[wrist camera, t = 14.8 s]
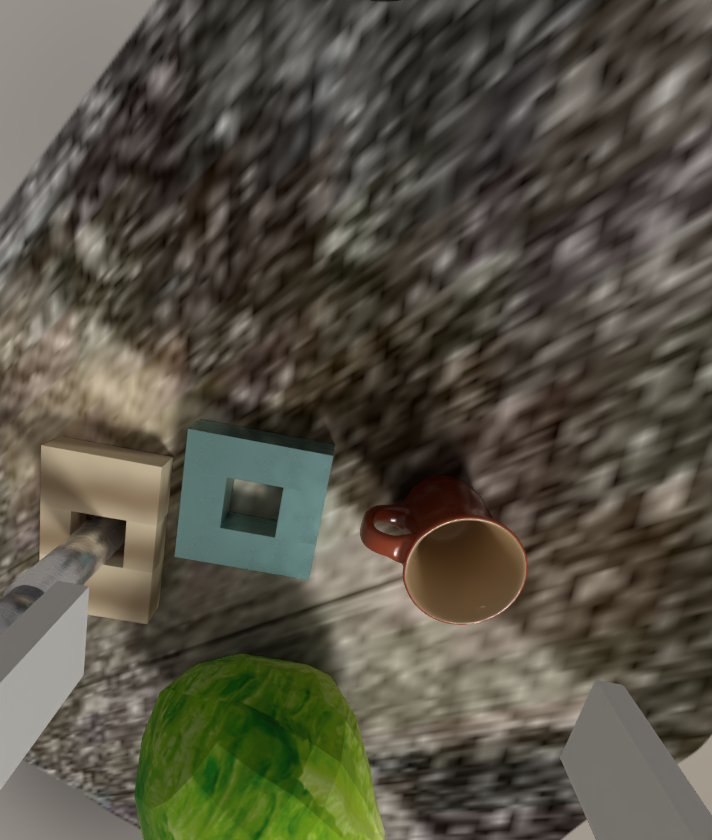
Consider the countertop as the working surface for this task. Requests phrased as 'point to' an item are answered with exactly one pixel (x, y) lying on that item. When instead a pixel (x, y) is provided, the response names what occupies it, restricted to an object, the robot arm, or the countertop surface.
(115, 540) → the metal cylinder rod
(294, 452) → the socket
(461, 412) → the countertop surface
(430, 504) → the mug
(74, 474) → the wooden square-hole plate
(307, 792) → the lettuce
